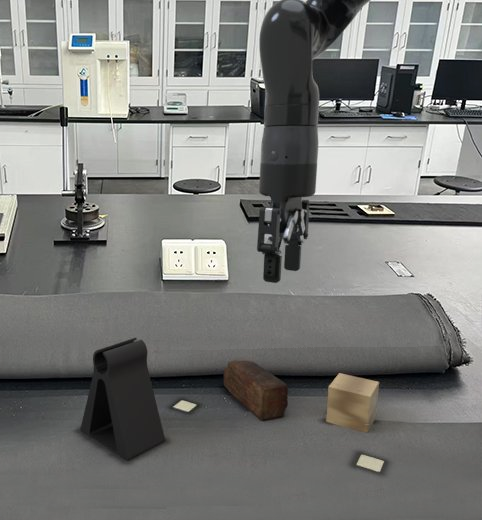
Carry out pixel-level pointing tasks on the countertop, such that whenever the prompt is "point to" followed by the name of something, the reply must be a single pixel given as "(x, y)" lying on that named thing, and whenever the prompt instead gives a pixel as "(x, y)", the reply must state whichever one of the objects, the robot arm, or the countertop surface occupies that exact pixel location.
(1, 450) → the countertop surface
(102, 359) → the phone stand
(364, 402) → the birch block
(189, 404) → the line marks
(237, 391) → the brick
